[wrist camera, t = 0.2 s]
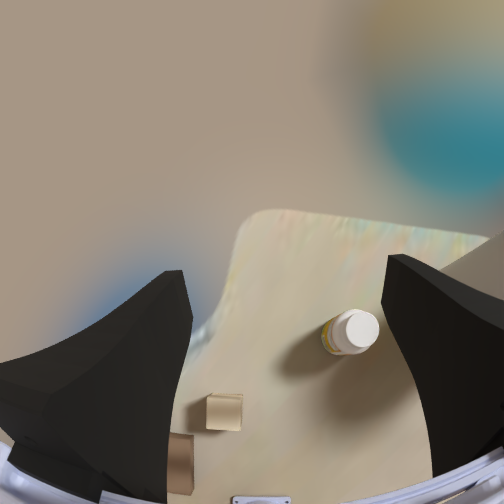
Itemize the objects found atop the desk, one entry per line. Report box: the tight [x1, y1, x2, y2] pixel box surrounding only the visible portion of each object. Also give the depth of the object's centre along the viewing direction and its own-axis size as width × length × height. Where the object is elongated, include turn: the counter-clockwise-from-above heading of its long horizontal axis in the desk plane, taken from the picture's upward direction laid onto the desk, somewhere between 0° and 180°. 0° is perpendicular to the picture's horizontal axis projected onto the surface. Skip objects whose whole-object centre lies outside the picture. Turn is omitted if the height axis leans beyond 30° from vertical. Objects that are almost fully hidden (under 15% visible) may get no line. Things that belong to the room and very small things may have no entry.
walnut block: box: [167, 432, 194, 496], centre depth 32 cm, size 9×9×3 cm
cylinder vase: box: [439, 230, 504, 300], centre depth 28 cm, size 12×12×25 cm
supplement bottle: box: [321, 309, 379, 355], centre depth 34 cm, size 5×5×10 cm
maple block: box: [206, 393, 243, 431], centre depth 33 cm, size 4×4×5 cm
